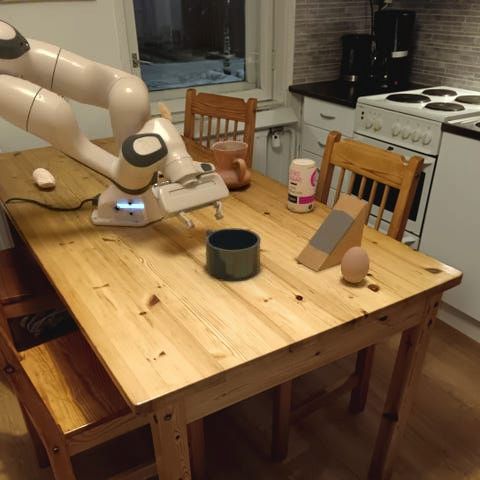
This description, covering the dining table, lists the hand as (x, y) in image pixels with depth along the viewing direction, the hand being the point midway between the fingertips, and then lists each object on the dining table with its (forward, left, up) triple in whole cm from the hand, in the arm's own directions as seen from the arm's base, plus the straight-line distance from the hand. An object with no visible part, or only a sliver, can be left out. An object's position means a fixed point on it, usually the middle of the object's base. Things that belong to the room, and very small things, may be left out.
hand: (206, 223), depth 130 cm
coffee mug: (+5, -8, -8) cm, 13 cm away
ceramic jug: (+11, +52, -8) cm, 54 cm away
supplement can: (+31, +28, -8) cm, 43 cm away
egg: (+34, -20, -8) cm, 40 cm away
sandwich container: (+31, -7, -8) cm, 33 cm away
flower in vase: (-14, +70, -8) cm, 72 cm away
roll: (-54, +57, -8) cm, 79 cm away
